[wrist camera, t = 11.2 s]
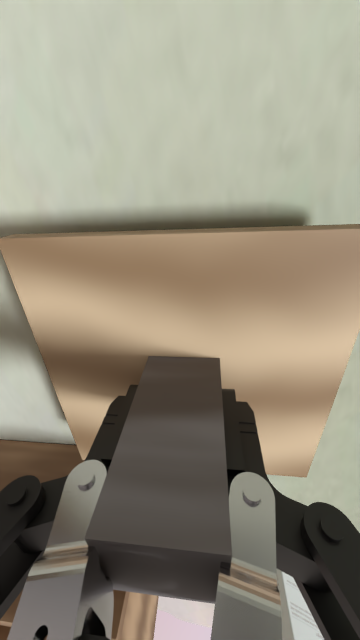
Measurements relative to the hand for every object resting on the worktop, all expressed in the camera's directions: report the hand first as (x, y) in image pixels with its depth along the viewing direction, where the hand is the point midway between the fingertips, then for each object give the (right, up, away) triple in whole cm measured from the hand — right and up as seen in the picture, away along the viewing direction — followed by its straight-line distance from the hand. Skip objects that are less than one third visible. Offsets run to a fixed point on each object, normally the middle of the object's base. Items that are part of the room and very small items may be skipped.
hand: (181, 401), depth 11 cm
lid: (0, +1, +2) cm, 2 cm away
